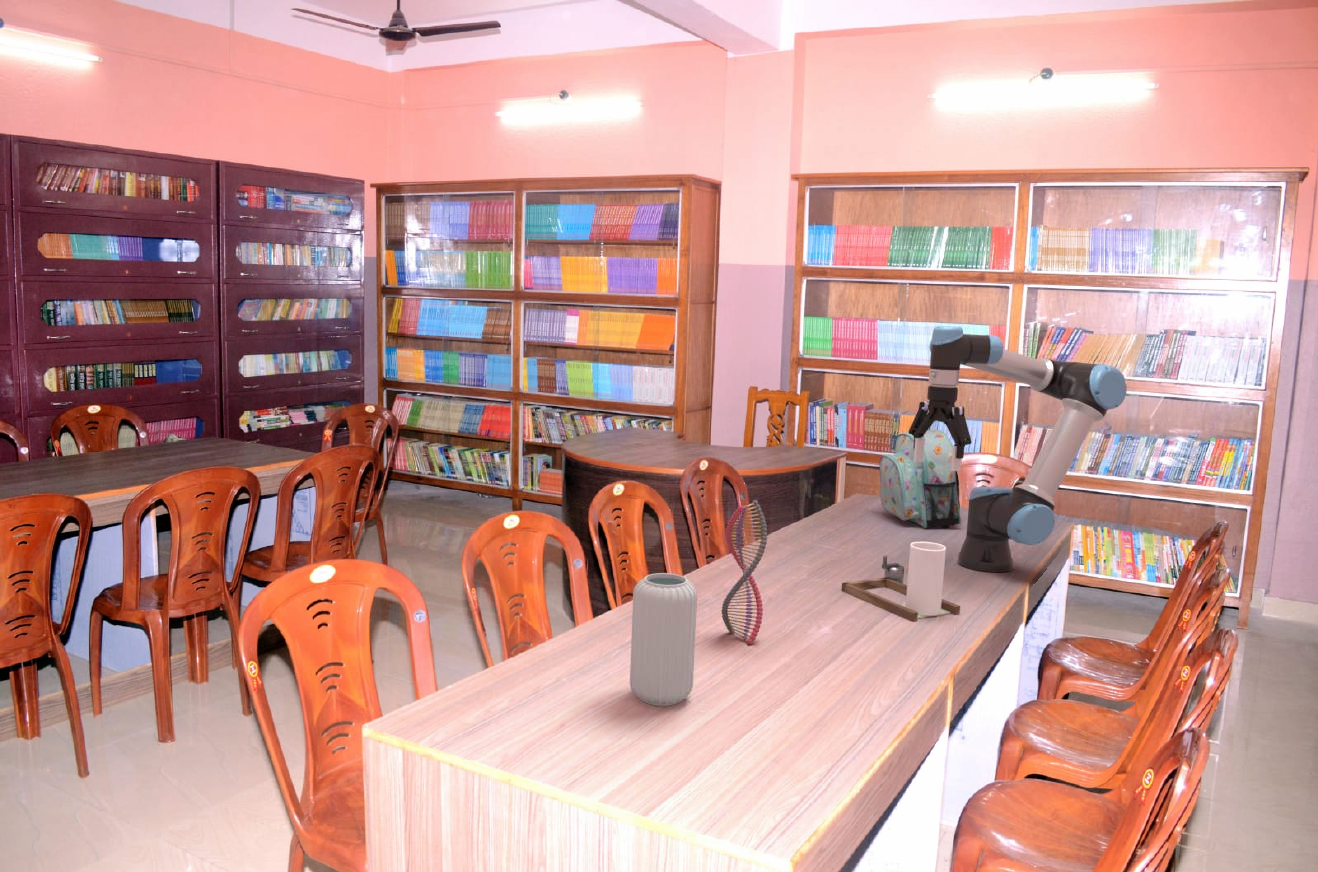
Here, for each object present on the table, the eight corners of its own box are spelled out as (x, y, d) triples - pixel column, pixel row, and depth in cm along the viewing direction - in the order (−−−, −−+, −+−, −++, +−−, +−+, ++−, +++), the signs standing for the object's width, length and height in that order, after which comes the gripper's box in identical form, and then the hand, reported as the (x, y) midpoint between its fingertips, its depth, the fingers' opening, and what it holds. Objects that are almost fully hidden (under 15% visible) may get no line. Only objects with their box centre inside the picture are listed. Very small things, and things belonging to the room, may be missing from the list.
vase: (700, 707, 172) (706, 586, 169) (638, 712, 169) (643, 589, 166) (681, 682, 183) (686, 569, 180) (622, 687, 180) (626, 571, 177)
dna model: (734, 648, 203) (741, 508, 199) (712, 634, 211) (719, 499, 207) (769, 642, 207) (777, 505, 203) (747, 629, 215) (754, 497, 211)
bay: (886, 584, 255) (886, 577, 255) (959, 613, 233) (960, 605, 232) (841, 590, 248) (842, 582, 248) (912, 621, 226) (913, 613, 225)
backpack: (868, 512, 348) (874, 423, 343) (933, 513, 350) (941, 425, 346) (895, 530, 320) (903, 434, 315) (966, 531, 323) (975, 436, 318)
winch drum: (894, 581, 259) (896, 551, 257) (907, 586, 254) (909, 556, 253) (875, 583, 255) (877, 553, 254) (888, 589, 251) (890, 558, 250)
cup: (941, 617, 228) (947, 551, 226) (906, 613, 230) (911, 548, 228) (939, 606, 236) (944, 543, 234) (904, 603, 238) (909, 540, 236)
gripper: (899, 381, 260) (893, 459, 263) (968, 390, 238) (961, 475, 241) (920, 381, 264) (914, 458, 267) (990, 390, 242) (983, 473, 245)
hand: (936, 466), depth 254 cm, fingers open, 13 cm apart
